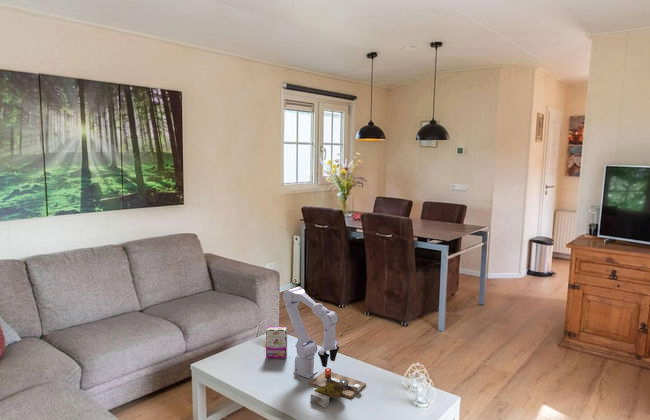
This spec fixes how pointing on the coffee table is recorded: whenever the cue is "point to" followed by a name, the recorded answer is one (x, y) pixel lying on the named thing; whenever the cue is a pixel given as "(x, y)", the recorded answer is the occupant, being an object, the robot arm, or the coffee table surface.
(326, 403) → the board
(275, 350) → the candy bar box
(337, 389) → the potato
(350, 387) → the lever
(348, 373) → the coffee table surface
